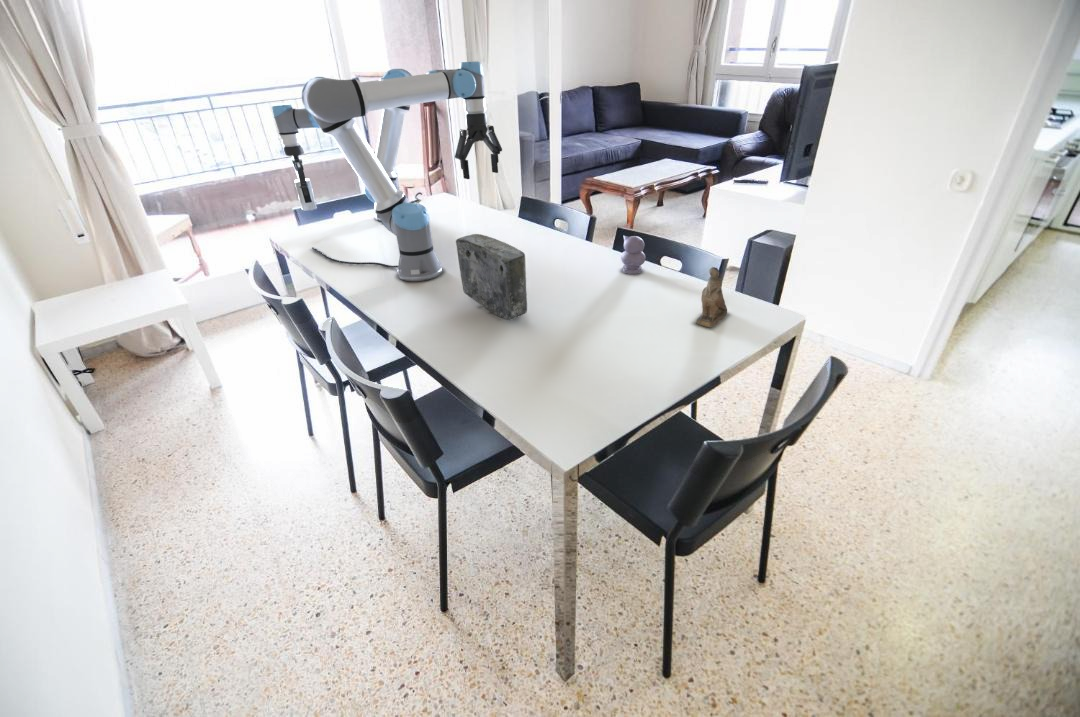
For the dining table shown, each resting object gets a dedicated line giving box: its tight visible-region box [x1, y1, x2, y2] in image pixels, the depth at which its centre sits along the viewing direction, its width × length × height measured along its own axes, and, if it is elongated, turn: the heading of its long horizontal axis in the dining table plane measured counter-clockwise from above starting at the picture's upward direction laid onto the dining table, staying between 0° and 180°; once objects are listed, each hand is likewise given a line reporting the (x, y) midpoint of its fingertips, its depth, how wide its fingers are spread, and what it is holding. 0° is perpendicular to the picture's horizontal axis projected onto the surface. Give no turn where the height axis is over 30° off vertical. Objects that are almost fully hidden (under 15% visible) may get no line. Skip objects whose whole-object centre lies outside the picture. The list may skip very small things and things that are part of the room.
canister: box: [293, 178, 318, 212], centre depth 219 cm, size 6×6×12 cm
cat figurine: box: [620, 234, 646, 275], centre depth 168 cm, size 9×8×12 cm
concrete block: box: [455, 233, 528, 321], centre depth 143 cm, size 27×9×20 cm, turn 36°
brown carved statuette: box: [695, 266, 728, 328], centre depth 135 cm, size 12×6×18 cm, turn 136°
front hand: (481, 175), depth 186 cm, fingers open, 13 cm apart
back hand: (307, 200), depth 220 cm, fingers closed on canister, 6 cm apart
